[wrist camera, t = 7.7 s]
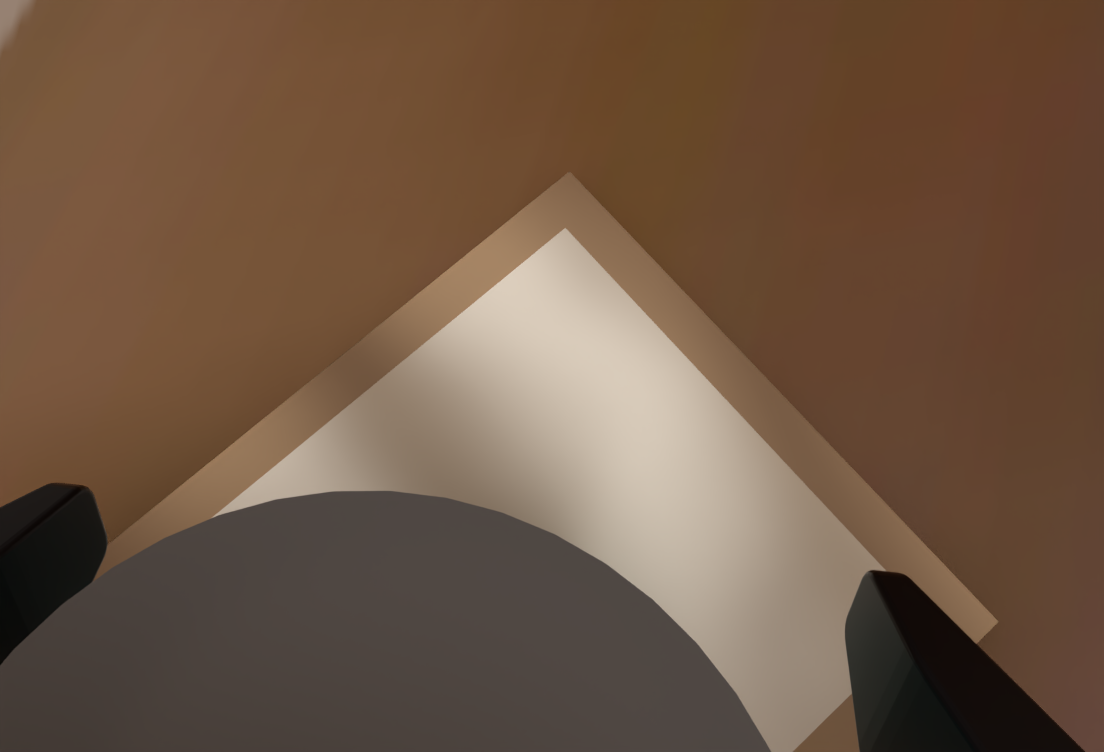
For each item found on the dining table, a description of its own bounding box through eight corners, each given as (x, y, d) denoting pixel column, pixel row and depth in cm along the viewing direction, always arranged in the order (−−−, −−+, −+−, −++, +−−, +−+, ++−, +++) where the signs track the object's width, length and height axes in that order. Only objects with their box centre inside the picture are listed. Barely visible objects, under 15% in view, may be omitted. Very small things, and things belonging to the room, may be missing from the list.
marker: (543, 782, 15) (464, 1967, 2) (382, 666, 16) (-381, 1157, 3) (648, 609, 16) (1012, 833, 3) (491, 504, 16) (253, 329, 4)
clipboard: (418, 1190, 14) (413, 1213, 14) (25, 620, 16) (8, 622, 16) (987, 620, 16) (1001, 622, 16) (569, 179, 18) (569, 169, 18)
